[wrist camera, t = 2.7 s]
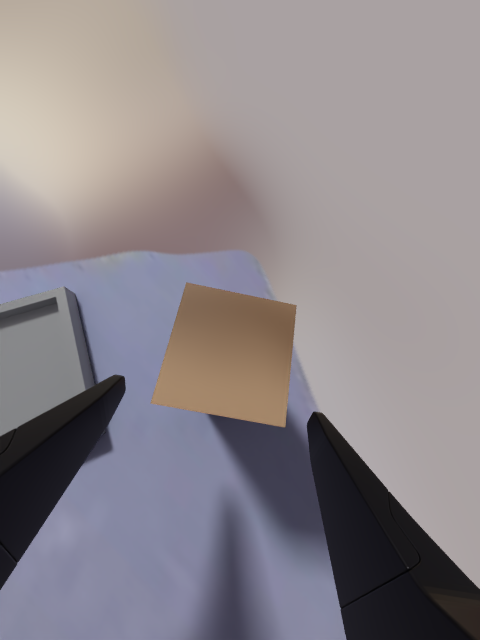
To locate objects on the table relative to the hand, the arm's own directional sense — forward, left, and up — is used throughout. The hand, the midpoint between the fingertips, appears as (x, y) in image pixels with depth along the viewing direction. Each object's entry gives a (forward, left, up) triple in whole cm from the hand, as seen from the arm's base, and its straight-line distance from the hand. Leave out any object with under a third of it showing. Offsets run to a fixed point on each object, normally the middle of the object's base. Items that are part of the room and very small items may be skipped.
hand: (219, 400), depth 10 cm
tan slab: (+2, -1, -10) cm, 10 cm away
